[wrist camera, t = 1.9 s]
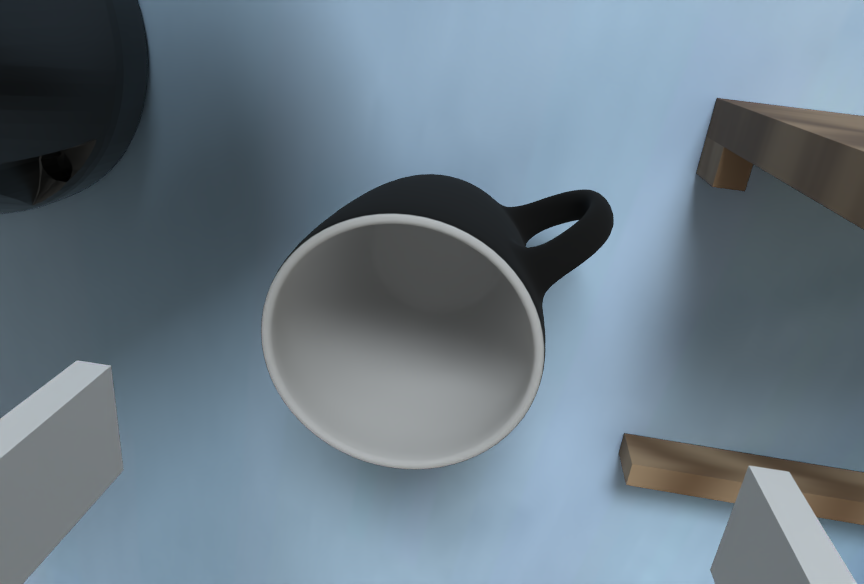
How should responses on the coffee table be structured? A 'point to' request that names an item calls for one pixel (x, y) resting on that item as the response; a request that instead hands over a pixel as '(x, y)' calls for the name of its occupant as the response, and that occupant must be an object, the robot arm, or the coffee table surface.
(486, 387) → the mug
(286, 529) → the coffee table surface
